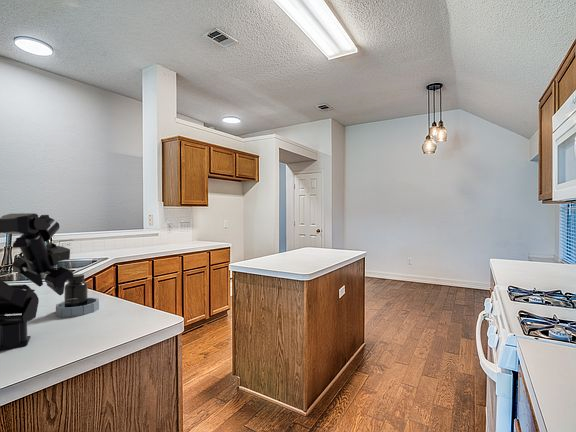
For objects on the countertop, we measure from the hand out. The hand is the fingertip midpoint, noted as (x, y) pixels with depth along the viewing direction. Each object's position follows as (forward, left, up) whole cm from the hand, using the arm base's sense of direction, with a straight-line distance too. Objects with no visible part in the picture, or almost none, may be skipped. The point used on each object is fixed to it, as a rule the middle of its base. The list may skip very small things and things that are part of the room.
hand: (51, 289), depth 100 cm
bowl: (+8, -7, -10) cm, 15 cm away
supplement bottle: (+8, -6, -10) cm, 14 cm away
